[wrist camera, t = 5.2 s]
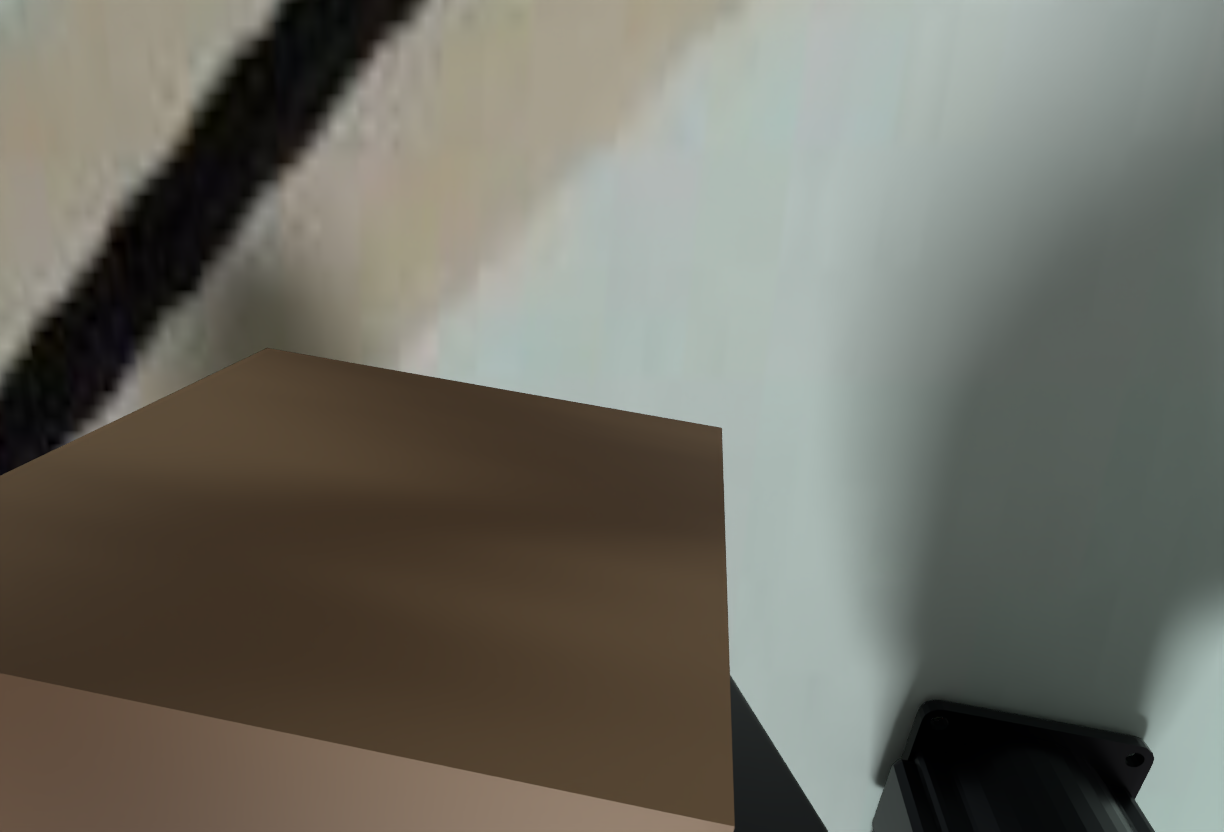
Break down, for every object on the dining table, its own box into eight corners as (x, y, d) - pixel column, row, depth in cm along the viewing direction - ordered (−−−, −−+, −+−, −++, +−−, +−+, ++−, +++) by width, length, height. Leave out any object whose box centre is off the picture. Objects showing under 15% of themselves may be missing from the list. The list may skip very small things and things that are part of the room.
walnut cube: (721, 428, 8) (735, 828, 3) (647, 786, 10) (588, 1372, 5) (267, 348, 8) (-286, 613, 4) (274, 709, 10) (-95, 1192, 6)
